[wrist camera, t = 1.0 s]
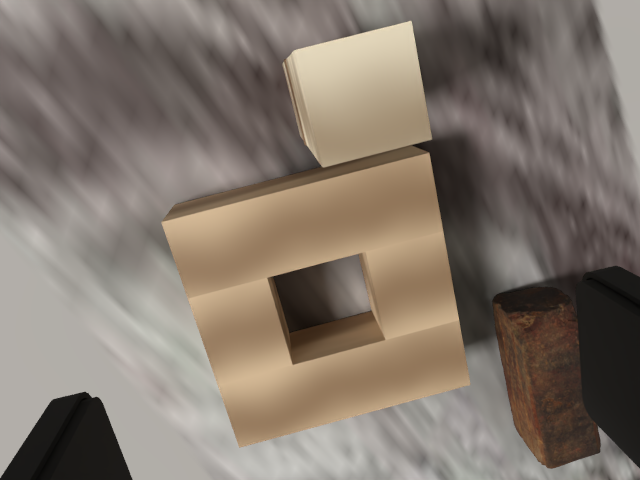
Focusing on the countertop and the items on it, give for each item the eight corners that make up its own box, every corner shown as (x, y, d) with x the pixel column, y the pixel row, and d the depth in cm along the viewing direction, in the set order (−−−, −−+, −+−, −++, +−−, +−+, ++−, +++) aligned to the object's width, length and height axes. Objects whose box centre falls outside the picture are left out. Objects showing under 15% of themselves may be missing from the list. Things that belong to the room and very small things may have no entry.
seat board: (174, 204, 30) (161, 222, 27) (408, 144, 31) (429, 152, 27) (242, 407, 35) (239, 447, 31) (447, 351, 35) (470, 384, 31)
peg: (281, 63, 29) (292, 49, 17) (353, 44, 29) (412, 18, 17) (299, 137, 30) (321, 169, 19) (369, 119, 30) (433, 140, 19)
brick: (565, 411, 37) (606, 455, 33) (512, 427, 37) (545, 473, 33) (543, 276, 34) (586, 305, 30) (485, 294, 34) (519, 325, 30)
